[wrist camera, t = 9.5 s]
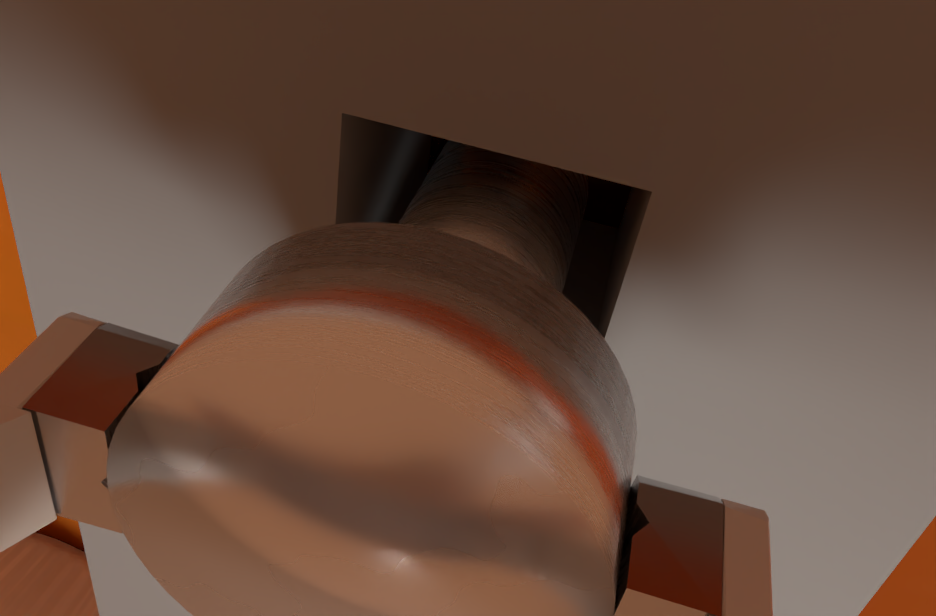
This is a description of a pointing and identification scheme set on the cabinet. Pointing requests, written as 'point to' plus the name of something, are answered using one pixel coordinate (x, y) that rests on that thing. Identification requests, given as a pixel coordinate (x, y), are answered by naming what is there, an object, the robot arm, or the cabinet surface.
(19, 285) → the cabinet surface
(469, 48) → the hitch block
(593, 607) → the steel peg
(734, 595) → the robot arm
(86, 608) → the ramekin
